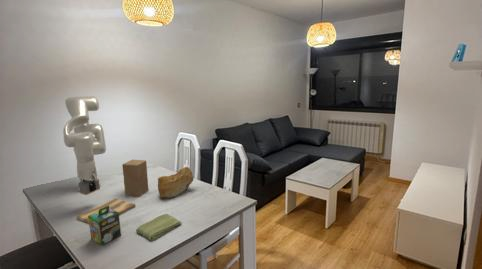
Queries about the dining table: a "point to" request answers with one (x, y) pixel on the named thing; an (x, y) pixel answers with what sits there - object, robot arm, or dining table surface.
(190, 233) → the dining table surface
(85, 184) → the block
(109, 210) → the chalk box
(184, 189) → the rough brown rock
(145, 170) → the wooden block
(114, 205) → the board
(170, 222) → the washcloth
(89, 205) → the dining table surface
